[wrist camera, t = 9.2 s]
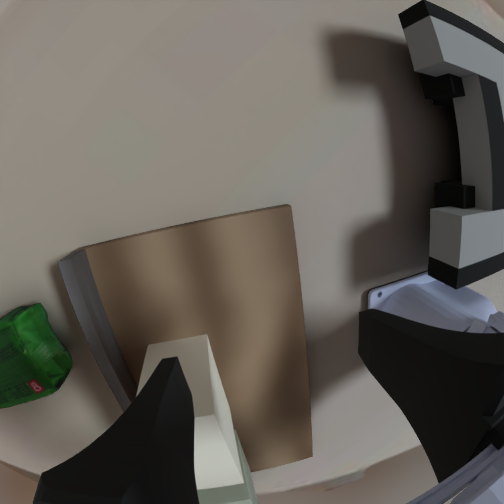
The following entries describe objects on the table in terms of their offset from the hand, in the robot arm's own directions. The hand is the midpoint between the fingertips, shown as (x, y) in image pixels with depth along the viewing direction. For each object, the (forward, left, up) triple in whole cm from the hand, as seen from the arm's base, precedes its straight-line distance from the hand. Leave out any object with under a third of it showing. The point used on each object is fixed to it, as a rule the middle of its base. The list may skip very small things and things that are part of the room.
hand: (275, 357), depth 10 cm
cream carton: (+5, +8, -9) cm, 13 cm away
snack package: (+22, +4, -11) cm, 25 cm away
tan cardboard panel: (+4, +10, -10) cm, 15 cm away
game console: (-30, -7, -11) cm, 33 cm away
